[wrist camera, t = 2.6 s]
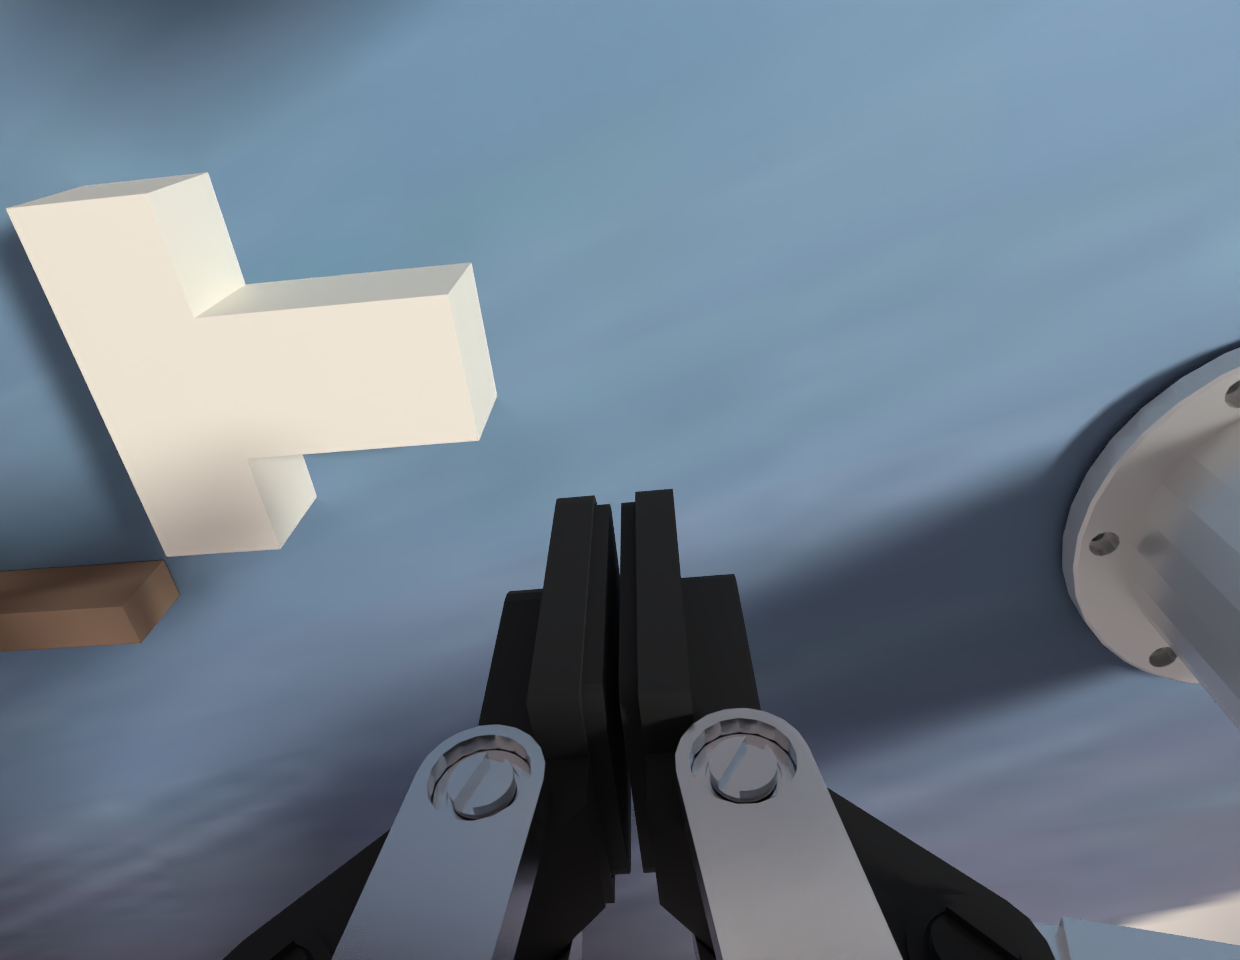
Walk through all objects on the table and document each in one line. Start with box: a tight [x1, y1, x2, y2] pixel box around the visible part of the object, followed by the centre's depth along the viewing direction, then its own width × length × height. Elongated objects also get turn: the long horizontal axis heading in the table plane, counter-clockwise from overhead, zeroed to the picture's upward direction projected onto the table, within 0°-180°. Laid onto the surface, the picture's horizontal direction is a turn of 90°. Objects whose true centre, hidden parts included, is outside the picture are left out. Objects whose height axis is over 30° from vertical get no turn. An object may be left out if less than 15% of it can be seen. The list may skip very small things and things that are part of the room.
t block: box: [6, 172, 497, 557], centre depth 22 cm, size 10×10×3 cm
